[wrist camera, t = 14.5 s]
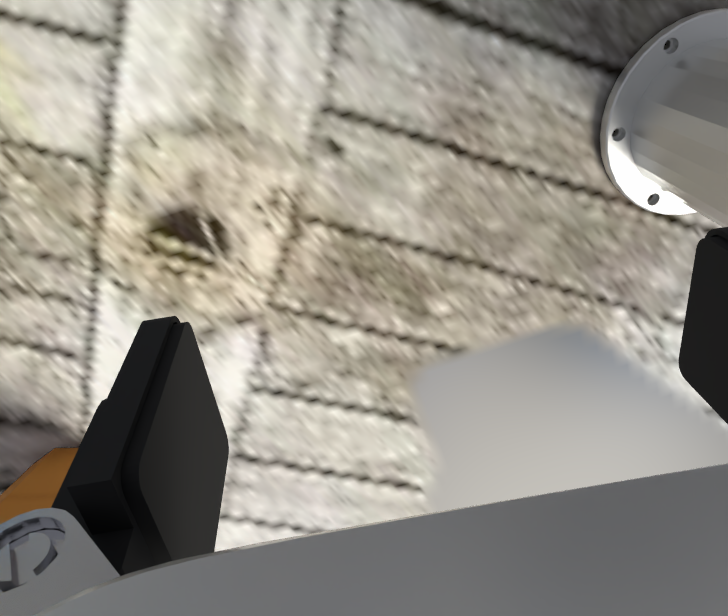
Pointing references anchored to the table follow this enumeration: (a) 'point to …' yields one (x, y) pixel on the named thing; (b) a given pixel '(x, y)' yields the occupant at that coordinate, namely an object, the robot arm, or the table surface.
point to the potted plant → (37, 484)
